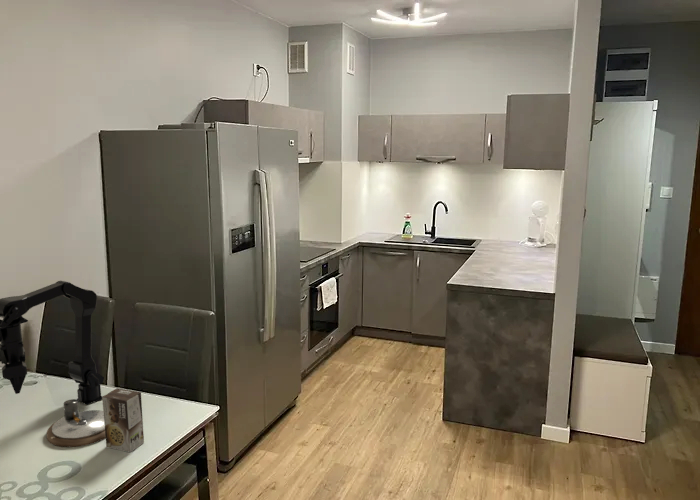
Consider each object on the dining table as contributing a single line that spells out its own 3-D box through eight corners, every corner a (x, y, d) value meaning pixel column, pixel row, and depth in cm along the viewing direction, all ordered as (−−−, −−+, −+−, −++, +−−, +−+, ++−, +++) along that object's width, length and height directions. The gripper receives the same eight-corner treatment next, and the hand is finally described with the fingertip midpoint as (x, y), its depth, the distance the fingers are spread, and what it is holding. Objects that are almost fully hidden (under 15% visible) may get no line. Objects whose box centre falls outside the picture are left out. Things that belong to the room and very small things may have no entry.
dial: (123, 423, 176) (122, 405, 175) (70, 445, 163) (68, 426, 162) (94, 408, 186) (92, 391, 185) (41, 428, 173) (39, 410, 172)
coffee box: (145, 442, 168) (142, 391, 165) (130, 453, 162) (127, 400, 159) (120, 437, 171) (117, 387, 168) (104, 447, 165) (101, 395, 162)
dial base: (96, 409, 189) (96, 405, 188) (130, 427, 177) (130, 422, 177) (34, 433, 173) (34, 428, 172) (68, 454, 161) (67, 449, 161)
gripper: (-20, 335, 173) (-14, 382, 176) (-22, 354, 158) (-15, 406, 161) (22, 329, 179) (27, 375, 182) (24, 347, 163) (30, 397, 166)
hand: (17, 387), depth 173 cm, fingers open, 9 cm apart
